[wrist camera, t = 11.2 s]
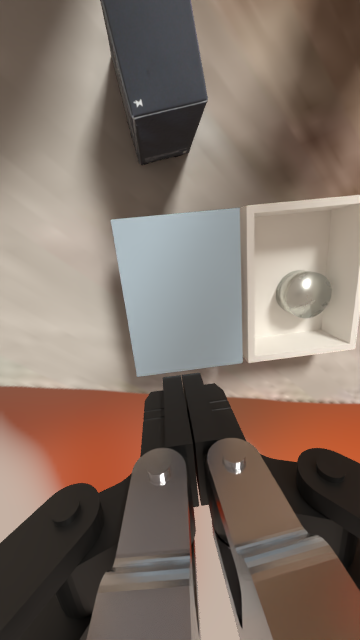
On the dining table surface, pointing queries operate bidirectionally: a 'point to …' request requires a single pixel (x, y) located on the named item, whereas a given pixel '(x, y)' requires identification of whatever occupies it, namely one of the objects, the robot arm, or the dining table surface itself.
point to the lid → (182, 289)
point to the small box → (157, 73)
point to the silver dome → (303, 293)
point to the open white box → (299, 254)
